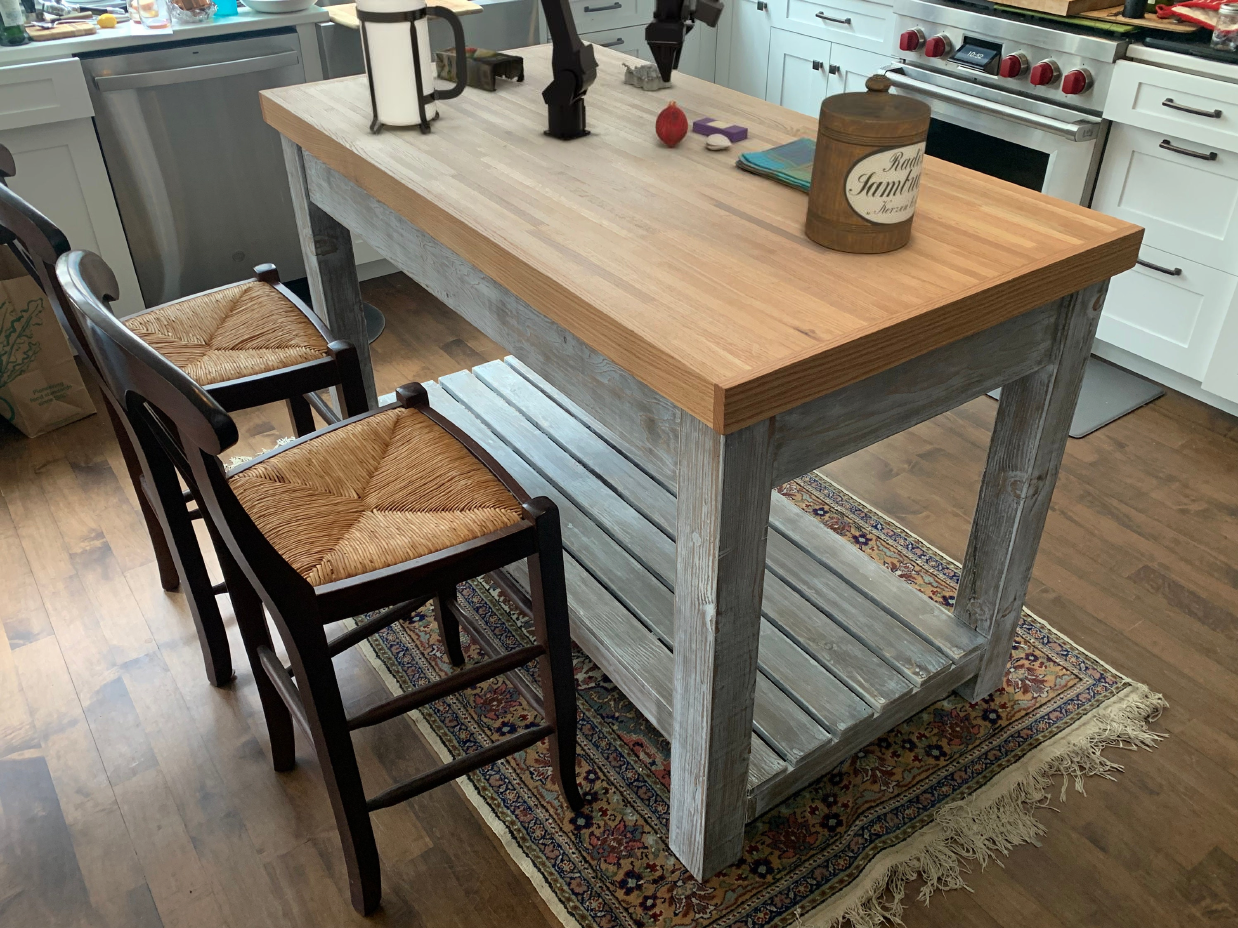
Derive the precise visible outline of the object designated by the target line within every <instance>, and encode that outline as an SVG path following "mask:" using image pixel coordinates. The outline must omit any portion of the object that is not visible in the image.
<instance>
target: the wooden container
mask: <svg viewBox="0 0 1238 928" xmlns="http://www.w3.org/2000/svg"><path fill="white" fill-rule="evenodd" d="M864 87H865V88H866V90H865V91H848V92H840V93H836V94H832V95H829V96H827V97H825V98H824V99H823V100H822V101H821V103H820V109H819V113H818V114H819V115H818V123H817V124H818V125H817V127H818V128H817V134H816V141H815V142H816V148H815V155H814V162H813V169H812V175H811V182H810V189H809V193H808V198H807V210H806V218H805V227H804V232H805V234H806V236H807V237H808V238H809V239H810V240H811V241H813V242H815V243H816V244H819V245H821V246H823V247H826V248H829V249H832V250H835V251H840V252H846V253H854V254H879V253H881V254H882V253H886V252H891V251H895V250H898V249H900V248H902V247H904V246H905V245H906V244H907V243H908V242H909V240H910V238H911V232H912V229H913V223H914V215H915V212H916V207H917V202H918V196H919V189H920V184H921V177H922V171H923V163H924V157H925V151H926V145H927V137H928V132H929V128H930V123H931V116H932V108H931V106H930V105H929V104H928V103H927V102H925V101H923V100H921V99H917V98H914V97H912V96H907V95H904V94H898V93H891V92H890V91H889V90H890V89H891V87H892V79H891V78H890V77H888V76H887V75H886V74H883V73H881V74H880V73H875V74H874V73H873V74H872V75H871V76H869V77H868V78H867V79H866V80H865V83H864Z"/></svg>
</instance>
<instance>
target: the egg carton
mask: <svg viewBox="0 0 1238 928" xmlns="http://www.w3.org/2000/svg"><path fill="white" fill-rule="evenodd" d="M621 65H622V66H624V68H626V70H625V72H624V83H625V84H626V85H633V87H634V88H635V87H636V88H643V90H644V91H658V89H662V88H671V86H672V77H671V78H670V82H669V83H667V82H663V80H662V78H661V75H660V72H659V70H658V67H657V65H656V63H653V62H651V63H648V64H647V63H646V64H641V65H640V66H637V65H635V66H634V69H633V68H631V66H630V65H629V64H626V63H625V62H622V64H621ZM674 71H675V70H672V73H673V72H674Z"/></svg>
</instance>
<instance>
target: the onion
mask: <svg viewBox="0 0 1238 928" xmlns="http://www.w3.org/2000/svg"><path fill="white" fill-rule="evenodd" d="M654 127H655V134H656V135H657V138H658V139H659V140H660V141H661V142H662V143H663V144H664V145H666V146H667V147H668V148H674V147H675V146H676V145H678V144H679V143H680V142H681V141H682V140H684V138H685V137H686V136H687V134H688V132H689V131H688V129H689V122H688V118H687V115H686V114H685V112H684V111H683V110H682V109H681V108H680V107H678V106H677V102H676V101H675V100H671V101H669V104H668V105H667V107H665V108H664V109H662V110H661V111H660V112H659V114H658V116H657V117H656V120H655V125H654Z"/></svg>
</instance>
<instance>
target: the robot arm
mask: <svg viewBox="0 0 1238 928" xmlns="http://www.w3.org/2000/svg"><path fill="white" fill-rule="evenodd" d="M654 2H655V3H654V5H655V7H654V10H653V12H652V20H651V21H650V22H649V23H648V24H647V25H646V27H645V28H644V41H646V45H647V46H648V48H649V50H650V52H651V55H652V57H653V60H654V62H655V65H656V66H657V67H658V70H659V72H660V75H661V78H662V80H663V82H667V83H669V82H670V78H671V79H672V73H673V72H672V70H674V71H675V70H678V69H679V65H680V61H681V58H682V57H681V56H682V52H683V48H684V44H685V41H686V36H688V34H689V33H690V32H691V31H692V30H693V29H695V26H696V22H697V21H700V22H701V23H703V24H706V26H707V27H709V28H713V29H715V28H716V27H717V25H718V24H719V21H720V18H721V16H722V14H723V11H724V8H725V4H724V2H722V1H721V0H655V1H654ZM540 4H541V8H542V11H543V14H544V18H545V22H546V24H547V29H548V32H549V36H550V39H551V42H552V54H551V70H552V77H553V78H552V79H553V80H552V81H551V82H550V83H549V84H548V85H547V86H546V87H545V88H544V89H543V91H542V92H541V97H542V99H543V103H544V104H545V105H546V106H547V121H548V125H547V126H548V129H545V130H542V134H543V135H546V136H550V137H553V138H555V139H559V140H561V141H570V140H574V139H576V138H577V139H578V138H581V137H584V136H588V135H591V134H592V133H591V131H592V130H589V129H586V128H587V110H586V105H585V97H586V96H587V94H588V90H589V88H590V87H591V86H592V85H593V84H594V83H595V81H596V79H597V76H598V71H597V70H598V69H597V68H598V67H600V65H599V63H598V61H597V59H596V56H595V50H594V45H593V43H588V44H585V43H584V41H582V39H581V38H580V36H579V33H578V30H577V26H576V23H575V19H574V15H573V11H572V8H571V4H570V0H540ZM688 21H690V23H688Z"/></svg>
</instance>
